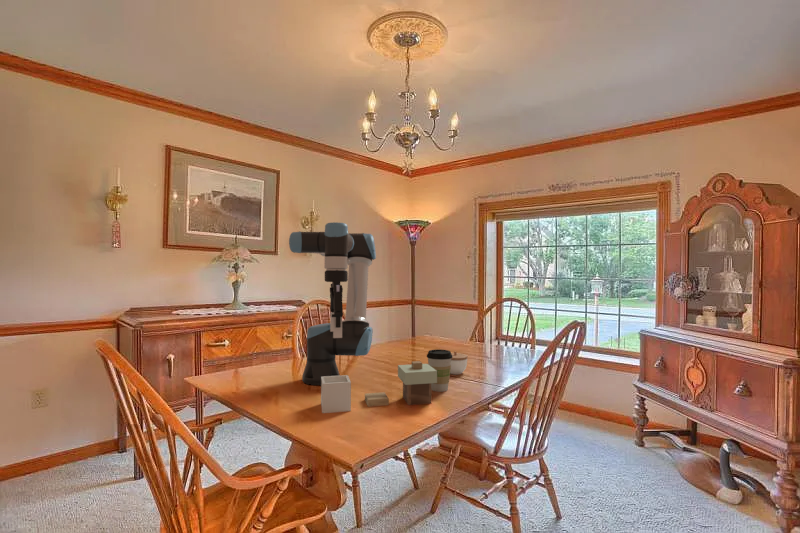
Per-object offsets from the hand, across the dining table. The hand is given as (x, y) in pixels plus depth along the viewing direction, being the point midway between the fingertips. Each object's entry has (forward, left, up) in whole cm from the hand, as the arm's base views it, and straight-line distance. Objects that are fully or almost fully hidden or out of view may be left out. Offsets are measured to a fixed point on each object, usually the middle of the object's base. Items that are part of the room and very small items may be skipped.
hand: (335, 334), depth 136 cm
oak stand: (-2, +14, -25) cm, 28 cm away
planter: (0, 0, -25) cm, 25 cm away
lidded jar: (-37, +56, -25) cm, 72 cm away
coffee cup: (-12, +40, -25) cm, 49 cm away
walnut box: (-1, +28, -25) cm, 37 cm away
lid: (-1, +28, -17) cm, 33 cm away
